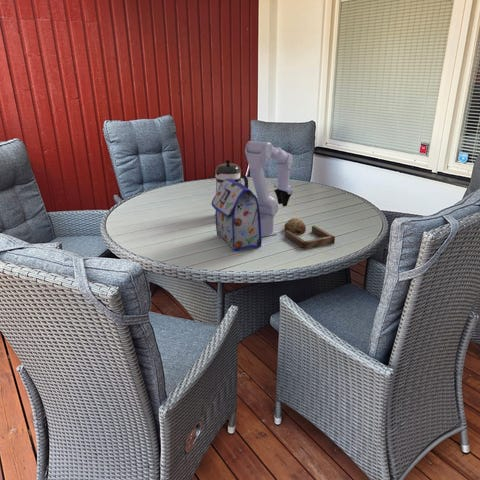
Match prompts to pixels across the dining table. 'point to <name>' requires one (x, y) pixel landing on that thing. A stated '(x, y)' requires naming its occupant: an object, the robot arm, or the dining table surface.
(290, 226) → the bread roll
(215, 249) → the dining table surface
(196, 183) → the dining table surface
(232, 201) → the lunch bag
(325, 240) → the roll holder
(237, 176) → the coffee press
